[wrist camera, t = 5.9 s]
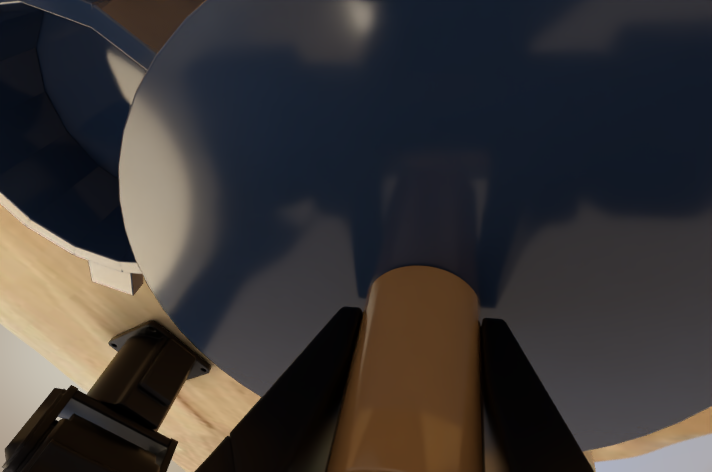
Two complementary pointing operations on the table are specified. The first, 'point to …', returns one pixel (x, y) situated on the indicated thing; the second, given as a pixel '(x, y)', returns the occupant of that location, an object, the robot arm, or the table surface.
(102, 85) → the pot
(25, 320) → the table surface
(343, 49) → the lid
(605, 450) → the table surface
